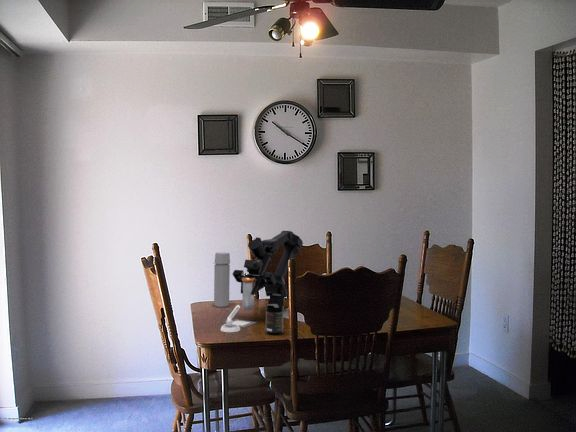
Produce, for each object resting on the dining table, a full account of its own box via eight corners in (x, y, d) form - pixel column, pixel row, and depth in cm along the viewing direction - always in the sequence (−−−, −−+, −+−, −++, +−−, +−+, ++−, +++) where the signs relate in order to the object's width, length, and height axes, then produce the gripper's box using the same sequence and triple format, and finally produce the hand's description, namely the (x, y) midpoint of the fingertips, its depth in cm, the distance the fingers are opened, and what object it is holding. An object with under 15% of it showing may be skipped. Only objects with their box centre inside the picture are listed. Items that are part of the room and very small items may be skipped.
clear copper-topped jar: (252, 307, 224) (252, 276, 224) (256, 309, 219) (257, 278, 218) (239, 308, 222) (240, 277, 222) (243, 310, 217) (244, 279, 216)
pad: (235, 320, 222) (235, 319, 222) (256, 323, 217) (256, 321, 217) (222, 325, 213) (222, 324, 213) (243, 328, 208) (243, 327, 208)
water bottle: (231, 307, 247) (231, 253, 246) (214, 307, 245) (214, 253, 244) (228, 303, 256) (229, 251, 255) (212, 303, 254) (212, 251, 253)
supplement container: (286, 332, 204) (286, 305, 203) (277, 336, 198) (278, 308, 197) (271, 329, 207) (271, 303, 206) (262, 333, 201) (262, 306, 200)
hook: (252, 319, 202) (237, 309, 200) (233, 343, 203) (218, 333, 202) (251, 310, 209) (236, 301, 207) (233, 333, 210) (219, 324, 209)
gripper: (234, 250, 227) (220, 280, 218) (273, 253, 219) (259, 284, 210) (244, 267, 235) (230, 295, 225) (281, 270, 226) (269, 300, 217)
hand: (246, 293), depth 219 cm, fingers closed on clear copper-topped jar, 5 cm apart
